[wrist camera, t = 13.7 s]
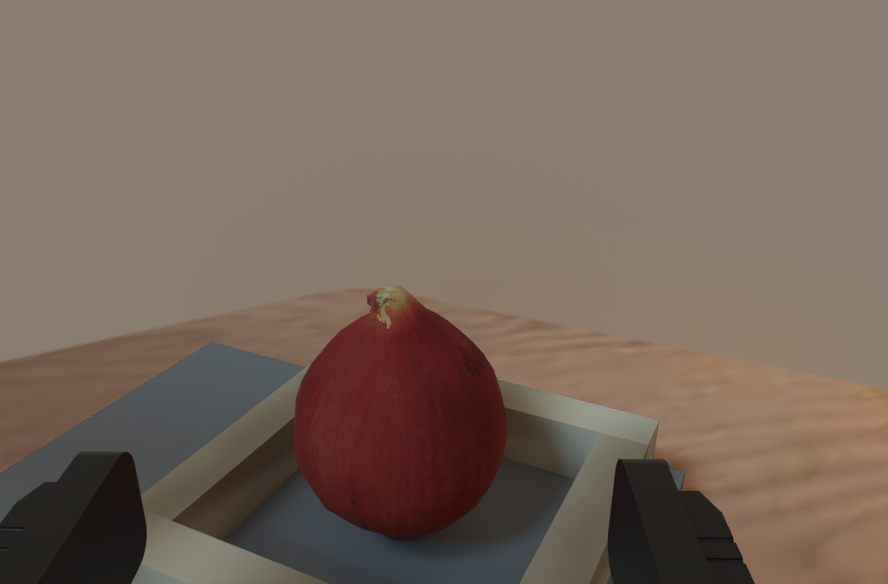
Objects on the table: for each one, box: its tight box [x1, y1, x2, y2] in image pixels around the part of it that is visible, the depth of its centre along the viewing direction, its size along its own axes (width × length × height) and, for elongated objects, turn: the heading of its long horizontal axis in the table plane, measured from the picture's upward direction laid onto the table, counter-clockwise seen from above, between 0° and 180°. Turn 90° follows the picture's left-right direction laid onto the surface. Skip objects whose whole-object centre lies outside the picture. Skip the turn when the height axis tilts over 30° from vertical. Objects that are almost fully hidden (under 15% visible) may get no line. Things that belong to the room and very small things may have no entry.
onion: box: [293, 285, 508, 540], centre depth 22 cm, size 6×6×8 cm
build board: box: [0, 342, 685, 584], centre depth 24 cm, size 20×15×2 cm
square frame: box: [131, 364, 659, 584], centre depth 23 cm, size 12×12×2 cm
